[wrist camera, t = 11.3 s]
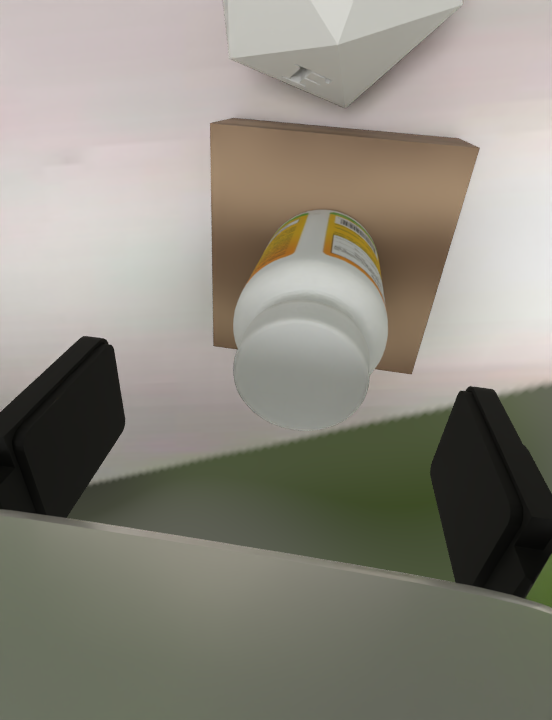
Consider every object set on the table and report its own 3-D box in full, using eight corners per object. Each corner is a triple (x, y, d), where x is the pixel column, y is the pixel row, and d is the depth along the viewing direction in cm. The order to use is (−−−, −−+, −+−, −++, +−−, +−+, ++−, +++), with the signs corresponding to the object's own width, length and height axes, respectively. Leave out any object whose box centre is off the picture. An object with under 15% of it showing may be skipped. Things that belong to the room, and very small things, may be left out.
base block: (404, 338, 26) (411, 374, 23) (230, 314, 27) (213, 345, 24) (458, 138, 20) (479, 148, 17) (232, 117, 21) (209, 123, 18)
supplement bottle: (269, 314, 22) (219, 443, 14) (262, 207, 19) (195, 293, 11) (374, 317, 21) (386, 456, 13) (383, 206, 18) (406, 297, 10)
